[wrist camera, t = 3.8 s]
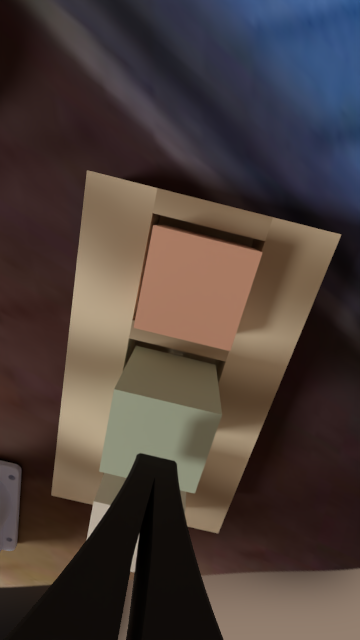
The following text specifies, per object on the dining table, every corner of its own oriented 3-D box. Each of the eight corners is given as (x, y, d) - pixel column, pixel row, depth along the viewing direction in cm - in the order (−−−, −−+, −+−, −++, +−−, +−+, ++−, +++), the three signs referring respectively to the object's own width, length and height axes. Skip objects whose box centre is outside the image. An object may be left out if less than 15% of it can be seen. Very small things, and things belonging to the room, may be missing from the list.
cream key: (172, 503, 18) (164, 579, 14) (107, 488, 18) (82, 560, 14) (187, 453, 16) (184, 522, 13) (117, 437, 16) (93, 501, 12)
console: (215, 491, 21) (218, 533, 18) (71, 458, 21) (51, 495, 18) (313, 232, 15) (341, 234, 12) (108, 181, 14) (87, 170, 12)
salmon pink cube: (222, 320, 16) (230, 351, 12) (149, 302, 16) (133, 327, 12) (245, 244, 14) (262, 252, 10) (165, 224, 14) (153, 224, 10)
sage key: (195, 429, 16) (194, 493, 12) (122, 412, 16) (98, 471, 12) (215, 364, 14) (222, 414, 11) (135, 345, 14) (114, 389, 11)
